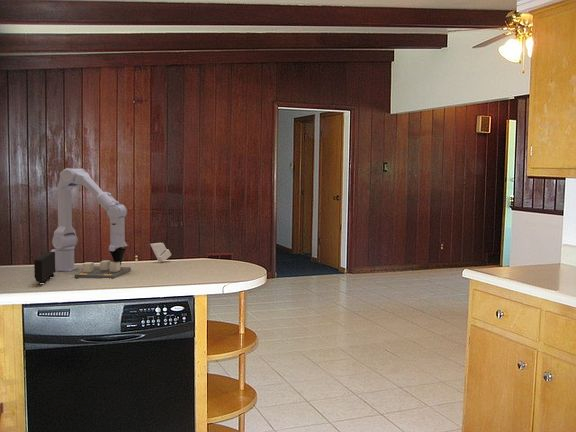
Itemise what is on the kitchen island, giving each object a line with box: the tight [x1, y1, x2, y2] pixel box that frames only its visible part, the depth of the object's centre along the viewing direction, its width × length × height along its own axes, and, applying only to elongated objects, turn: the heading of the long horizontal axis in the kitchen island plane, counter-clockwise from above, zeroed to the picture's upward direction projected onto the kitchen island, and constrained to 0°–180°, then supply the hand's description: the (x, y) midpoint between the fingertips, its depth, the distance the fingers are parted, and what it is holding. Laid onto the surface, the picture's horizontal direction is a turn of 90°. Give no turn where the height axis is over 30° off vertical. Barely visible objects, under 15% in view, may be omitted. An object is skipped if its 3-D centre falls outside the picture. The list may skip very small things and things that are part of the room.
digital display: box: [33, 251, 56, 284], centre depth 221 cm, size 21×3×10 cm, turn 10°
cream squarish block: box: [110, 261, 121, 272], centre depth 235 cm, size 3×4×4 cm
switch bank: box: [74, 265, 132, 280], centre depth 237 cm, size 16×20×2 cm
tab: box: [99, 259, 112, 270], centre depth 238 cm, size 3×4×4 cm
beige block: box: [82, 261, 95, 273], centre depth 233 cm, size 3×4×4 cm
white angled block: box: [149, 242, 172, 263], centre depth 271 cm, size 4×10×9 cm, turn 143°
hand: (117, 265), depth 239 cm, fingers closed
